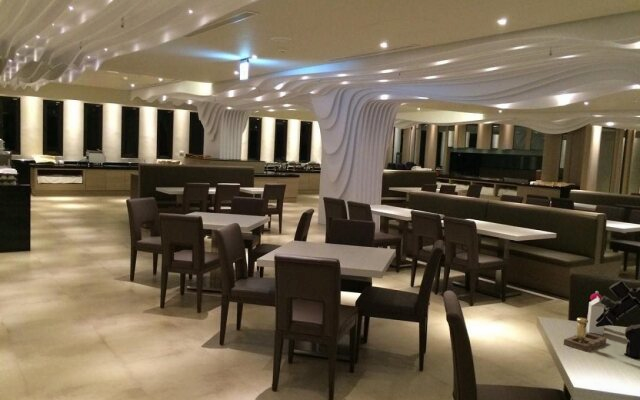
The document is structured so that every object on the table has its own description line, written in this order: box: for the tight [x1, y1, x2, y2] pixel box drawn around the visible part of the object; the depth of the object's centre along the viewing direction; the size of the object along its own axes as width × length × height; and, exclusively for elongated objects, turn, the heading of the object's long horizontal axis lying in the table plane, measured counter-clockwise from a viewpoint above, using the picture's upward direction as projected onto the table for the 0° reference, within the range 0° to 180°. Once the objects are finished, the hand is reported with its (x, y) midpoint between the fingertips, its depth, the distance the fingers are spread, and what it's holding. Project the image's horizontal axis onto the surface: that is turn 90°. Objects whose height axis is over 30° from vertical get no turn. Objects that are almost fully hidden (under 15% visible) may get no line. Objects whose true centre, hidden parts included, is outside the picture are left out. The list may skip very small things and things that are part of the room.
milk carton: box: [586, 296, 605, 335], centre depth 290 cm, size 7×7×19 cm
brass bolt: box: [575, 317, 588, 344], centre depth 267 cm, size 5×5×14 cm
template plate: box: [563, 332, 607, 352], centre depth 270 cm, size 22×11×2 cm, turn 129°
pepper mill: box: [586, 290, 603, 319], centre depth 301 cm, size 7×7×20 cm
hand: (596, 323), depth 263 cm, fingers open, 9 cm apart
